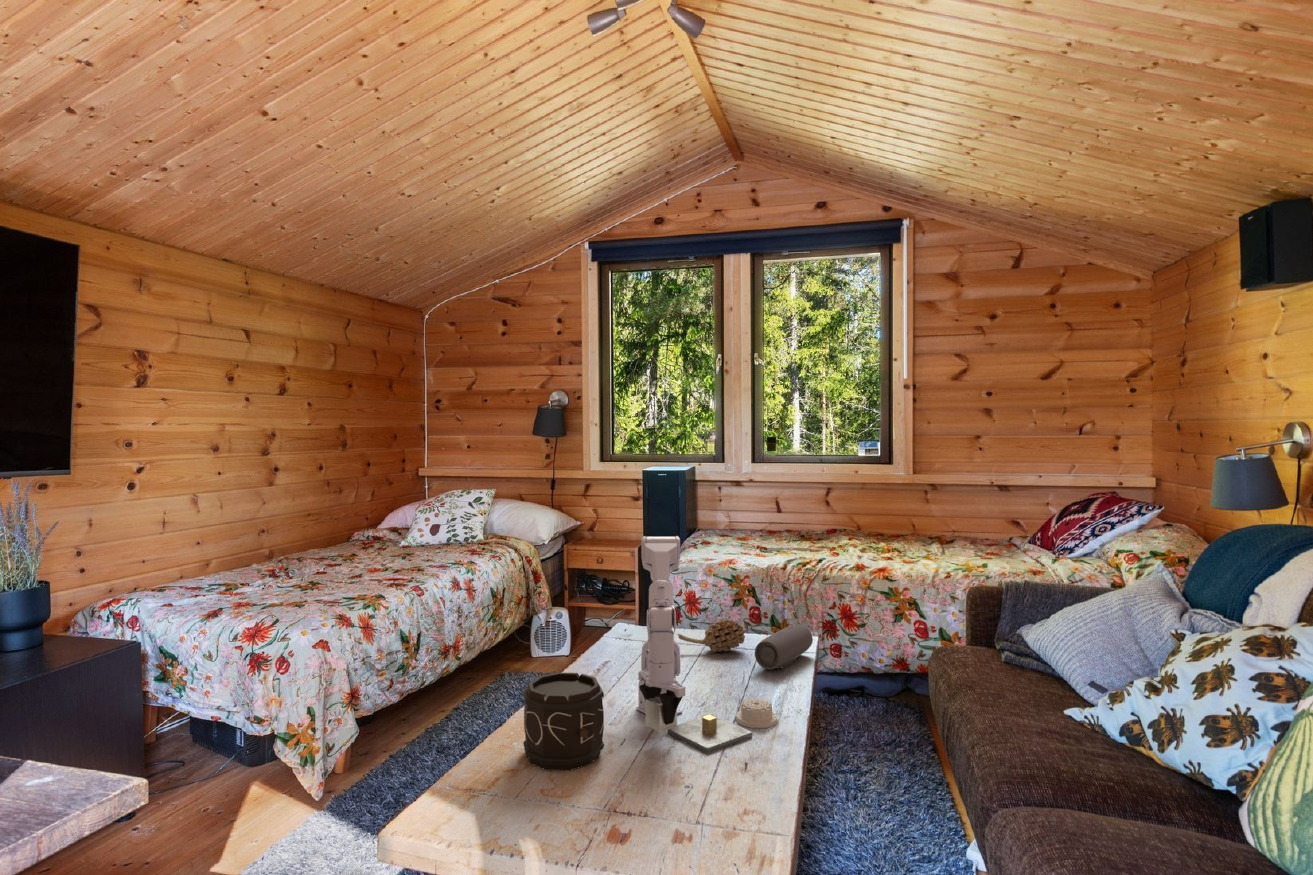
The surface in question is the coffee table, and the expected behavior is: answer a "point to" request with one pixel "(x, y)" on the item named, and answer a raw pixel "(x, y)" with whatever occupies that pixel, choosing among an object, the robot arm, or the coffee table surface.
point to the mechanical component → (756, 714)
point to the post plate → (709, 733)
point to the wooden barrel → (563, 721)
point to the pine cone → (720, 636)
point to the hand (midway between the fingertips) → (661, 719)
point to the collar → (657, 715)
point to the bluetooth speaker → (783, 646)
